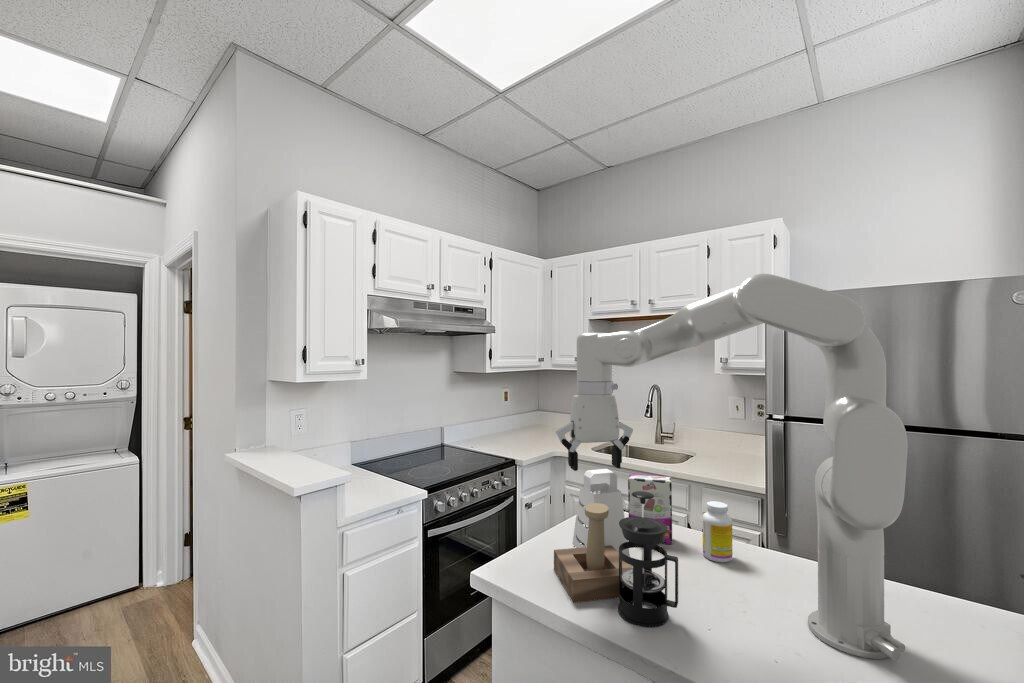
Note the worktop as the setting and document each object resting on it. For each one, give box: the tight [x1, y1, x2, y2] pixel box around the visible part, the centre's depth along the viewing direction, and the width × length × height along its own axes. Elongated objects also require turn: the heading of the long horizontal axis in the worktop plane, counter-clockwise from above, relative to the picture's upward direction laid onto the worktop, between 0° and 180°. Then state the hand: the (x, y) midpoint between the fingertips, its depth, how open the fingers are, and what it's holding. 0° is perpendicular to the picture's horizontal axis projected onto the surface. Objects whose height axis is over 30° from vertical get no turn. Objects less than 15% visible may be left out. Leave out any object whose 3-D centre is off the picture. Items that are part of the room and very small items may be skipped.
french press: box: [617, 491, 679, 628], centre depth 89 cm, size 12×9×23 cm
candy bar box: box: [627, 473, 673, 545], centre depth 123 cm, size 11×5×16 cm, turn 73°
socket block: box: [553, 545, 633, 604], centre depth 100 cm, size 14×14×4 cm
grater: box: [571, 468, 631, 557], centre depth 116 cm, size 10×10×20 cm
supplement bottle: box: [702, 500, 734, 563], centre depth 113 cm, size 7×7×13 cm
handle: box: [584, 503, 609, 571], centre depth 100 cm, size 5×6×15 cm
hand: (595, 468), depth 101 cm, fingers open, 9 cm apart
